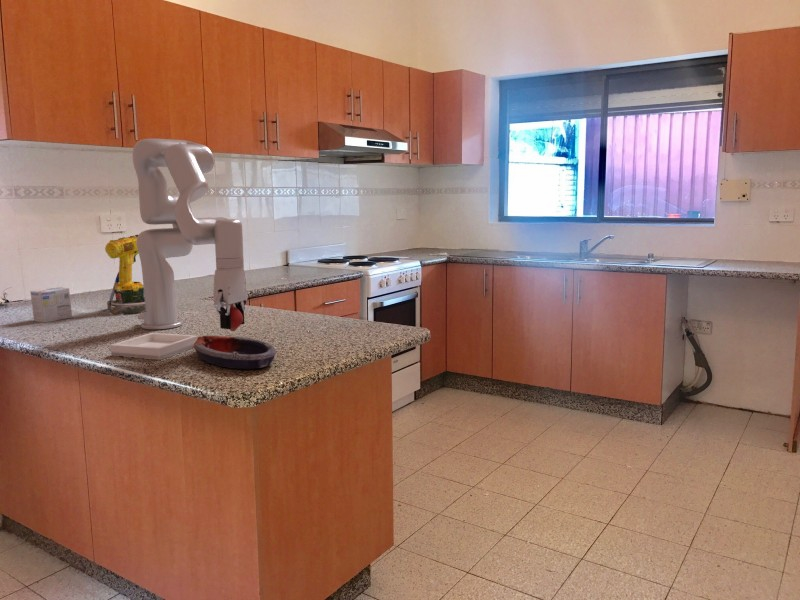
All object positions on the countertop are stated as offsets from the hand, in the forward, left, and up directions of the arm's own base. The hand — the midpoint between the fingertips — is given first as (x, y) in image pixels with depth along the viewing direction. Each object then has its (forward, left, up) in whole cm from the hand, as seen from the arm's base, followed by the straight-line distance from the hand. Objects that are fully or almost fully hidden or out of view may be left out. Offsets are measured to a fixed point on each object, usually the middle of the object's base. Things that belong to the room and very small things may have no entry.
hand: (232, 325), depth 187 cm
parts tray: (-15, -14, -5) cm, 21 cm away
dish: (+11, -17, -5) cm, 21 cm away
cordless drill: (-69, +39, -5) cm, 80 cm away
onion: (0, 0, -2) cm, 2 cm away
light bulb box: (-84, +15, -5) cm, 86 cm away
